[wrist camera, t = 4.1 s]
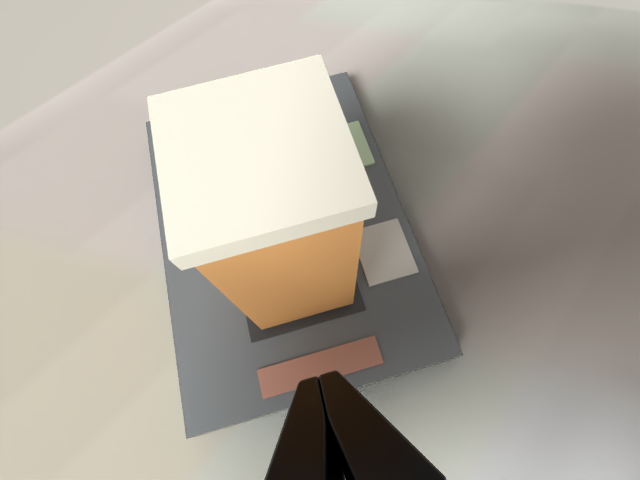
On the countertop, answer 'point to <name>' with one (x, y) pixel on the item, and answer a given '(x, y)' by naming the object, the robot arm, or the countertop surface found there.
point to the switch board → (313, 331)
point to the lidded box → (263, 189)
